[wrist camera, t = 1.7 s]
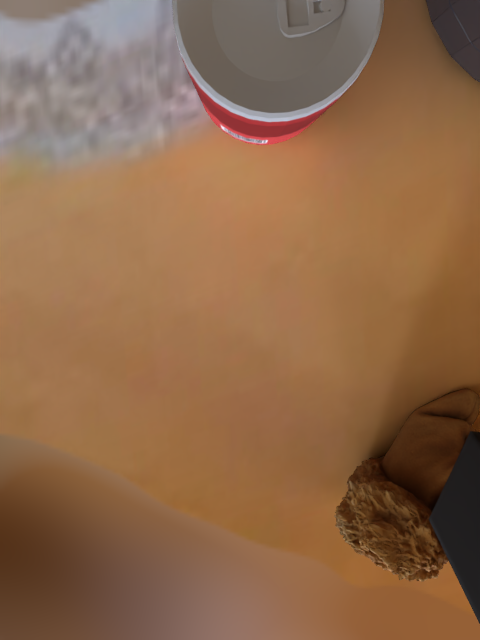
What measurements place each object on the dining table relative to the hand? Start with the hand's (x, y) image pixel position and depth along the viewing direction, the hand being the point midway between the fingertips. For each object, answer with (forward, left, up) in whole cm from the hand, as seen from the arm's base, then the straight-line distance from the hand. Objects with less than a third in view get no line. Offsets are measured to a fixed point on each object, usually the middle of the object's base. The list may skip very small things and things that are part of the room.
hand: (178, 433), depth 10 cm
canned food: (-10, +7, -21) cm, 24 cm away
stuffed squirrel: (+19, +8, -21) cm, 30 cm away
